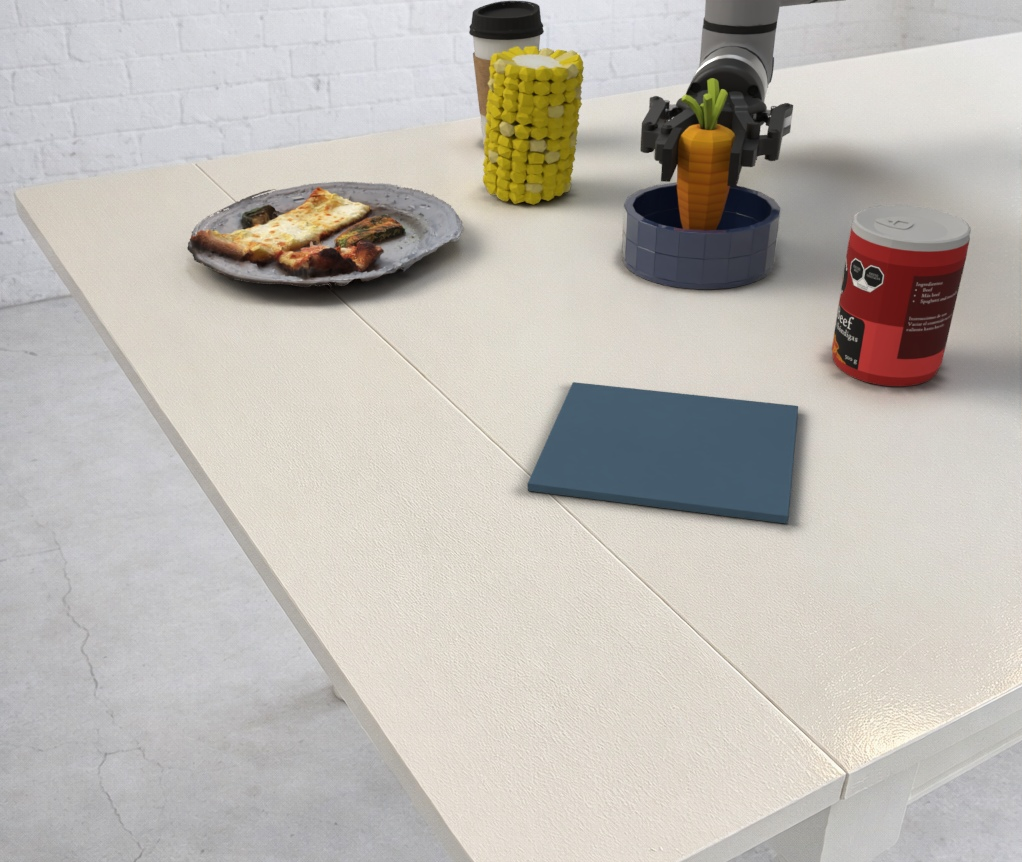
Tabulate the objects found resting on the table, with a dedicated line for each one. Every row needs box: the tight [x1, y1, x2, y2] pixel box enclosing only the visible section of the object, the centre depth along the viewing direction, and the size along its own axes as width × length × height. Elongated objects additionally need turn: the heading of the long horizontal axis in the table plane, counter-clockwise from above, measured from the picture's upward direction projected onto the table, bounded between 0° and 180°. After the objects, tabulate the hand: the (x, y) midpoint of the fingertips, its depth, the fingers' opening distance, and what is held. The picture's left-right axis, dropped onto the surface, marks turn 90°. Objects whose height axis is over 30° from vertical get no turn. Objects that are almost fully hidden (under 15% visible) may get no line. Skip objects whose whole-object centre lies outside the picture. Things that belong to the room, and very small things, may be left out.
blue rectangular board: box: [527, 381, 799, 525], centre depth 74 cm, size 16×14×1 cm
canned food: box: [831, 204, 972, 387], centre depth 81 cm, size 8×8×11 cm
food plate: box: [186, 181, 464, 291], centre depth 104 cm, size 25×23×4 cm
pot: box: [621, 181, 782, 290], centre depth 101 cm, size 14×14×5 cm
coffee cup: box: [468, 0, 545, 147], centre depth 129 cm, size 8×8×15 cm
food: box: [482, 46, 585, 206], centre depth 114 cm, size 15×12×10 cm
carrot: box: [676, 78, 735, 231], centre depth 98 cm, size 5×5×15 cm
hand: (699, 167), depth 92 cm, fingers closed on carrot, 5 cm apart
